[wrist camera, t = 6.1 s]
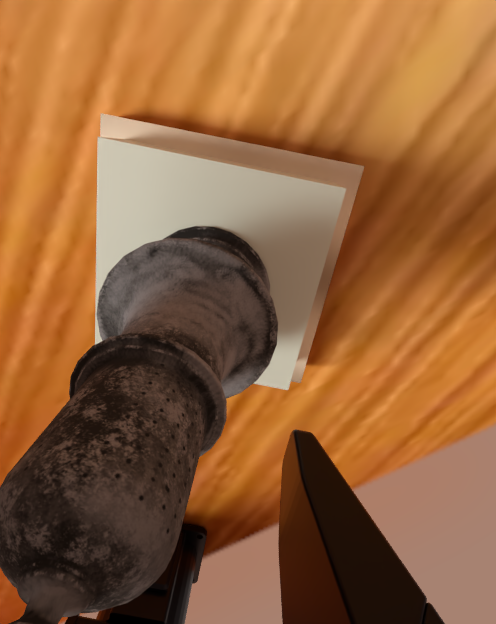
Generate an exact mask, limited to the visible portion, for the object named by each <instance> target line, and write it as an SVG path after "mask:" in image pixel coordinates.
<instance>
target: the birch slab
mask: <svg viewBox="0 0 496 624" xmlns="http://www.w3.org/2000/svg"><path fill="white" fill-rule="evenodd" d="M100 137H106V138H117V139H126V140H131V141H136V142H140V143H145V144H150V145H155V146H160V147H165V148H169V149H174V150H179V151H184V152H189V153H193V154H198V155H203V156H208V157H213V158H217V159H222V160H227V161H232V162H237V163H242V164H246V165H251V166H256V167H261V168H266V169H270V170H275V171H280V172H285V173H290V174H294V175H299V176H304V177H309V178H314V179H319V180H323V181H328V182H333V183H336V184H338V185H340V186H343V187H345V188H346V192H345V195H344V199H343V202H342V206H341V209H340V212H339V216H338V219H337V223H336V226H335V230H334V233H333V237H332V240H331V244H330V247H329V250H328V254H327V257H326V261H325V264H324V268H323V271H322V275H321V278H320V282H319V285H318V288H317V292H316V295H315V299H314V302H313V306H312V309H311V313H310V316H309V320H308V323H307V326H306V330H305V333H304V337H303V340H302V344H301V347H300V351H299V354H298V358H297V361H296V364H295V368H294V371H293V375H292V378H291V381H292V382H298V383H301V380H302V376H303V373H304V370H305V366H306V363H307V360H308V356H309V353H310V349H311V346H312V343H313V339H314V336H315V332H316V329H317V326H318V322H319V319H320V315H321V312H322V309H323V305H324V302H325V299H326V295H327V292H328V288H329V285H330V282H331V278H332V275H333V271H334V268H335V265H336V261H337V258H338V255H339V251H340V248H341V244H342V241H343V238H344V234H345V231H346V227H347V224H348V221H349V217H350V214H351V211H352V207H353V204H354V200H355V197H356V194H357V190H358V187H359V183H360V180H361V177H362V173H363V170H364V166H361V165H356V164H351V163H346V162H341V161H336V160H331V159H326V158H321V157H316V156H311V155H306V154H301V153H296V152H291V151H286V150H281V149H276V148H271V147H266V146H261V145H256V144H251V143H246V142H241V141H236V140H231V139H226V138H221V137H216V136H211V135H206V134H201V133H196V132H191V131H186V130H181V129H176V128H172V127H167V126H162V125H157V124H152V123H147V122H142V121H137V120H132V119H127V118H122V117H117V116H112V115H107V114H102V113H101V125H100Z"/></svg>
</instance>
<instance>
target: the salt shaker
mask: <svg viewBox="0 0 496 624" xmlns="http://www.w3.org/2000/svg"><path fill="white" fill-rule="evenodd" d="M97 320H98V326H99V333H100V336H101V339H102V341H101V342H100V343H98V344H96V345H94V346H92V347H91V348H90V349H89V350H88V351H87V352H86V353H85V354H84V355H83V356H82V357H81V359H80V360H79V361H78V362H77V364H76V367H75V369H74V371H73V373H72V375H71V380H70V390H69V395H70V400H69V401H68V402H67V404H66V405H65V406H64V407H63V408H62V410H61V411H60V412H59V413H58V414H57V416H56V417H55V418H54V419H53V421H52V422H51V423H50V424H49V425H48V427H47V428H46V429H45V430H44V431H43V433H42V434H41V435H40V436H39V437H38V439H37V440H36V441H35V442H34V443H33V445H32V446H31V447H30V448H29V449H28V451H27V452H26V453H25V454H24V455H23V457H22V458H21V459H20V460H19V461H18V463H17V464H16V465H15V466H14V467H13V469H12V470H11V471H10V472H9V473H8V475H7V476H6V478H5V480H4V482H3V484H2V485H1V487H0V567H1V569H2V571H3V573H4V575H5V576H6V577H7V578H8V580H9V581H10V582H11V583H12V585H13V586H14V587H16V588H17V591H18V594H19V596H20V598H21V599H22V600H23V601H24V602H25V603H26V604H27V606H26V609H25V612H24V615H23V616H22V617H21V618H20V619H18V620H16V621H14V622H11V623H9V624H58V622H59V621H60V619H61V618H62V617H71V616H75V615H78V614H80V613H91V612H98V611H102V610H105V609H109V608H112V607H115V606H118V605H122V604H125V603H127V602H129V601H131V600H133V599H134V598H136V597H138V596H140V595H141V594H142V593H143V592H144V591H145V590H146V589H148V588H149V587H150V586H151V585H152V584H153V583H154V582H156V580H157V579H158V578H159V577H160V576H161V575H162V573H163V572H164V571H165V570H166V568H167V565H168V563H169V561H170V559H171V557H172V555H173V553H174V551H175V548H176V545H177V542H178V539H179V535H180V531H181V527H182V523H183V519H184V515H185V511H186V507H187V503H188V499H189V495H190V491H191V487H192V483H193V479H194V475H195V471H196V467H197V463H198V459H199V457H200V456H202V455H203V454H204V453H206V452H207V451H208V450H210V449H211V448H212V447H213V445H214V444H215V443H216V441H217V440H218V439H219V437H220V436H221V433H222V430H223V428H224V425H225V422H226V398H229V397H231V396H234V395H236V394H238V393H241V392H242V391H244V390H245V389H246V388H248V387H249V386H250V385H252V384H253V383H254V382H256V381H257V380H258V379H259V377H260V376H261V375H262V373H263V372H264V371H265V369H266V368H267V367H268V365H269V364H270V361H271V359H272V356H273V353H274V351H275V348H276V346H277V333H278V320H277V315H276V311H275V306H274V302H273V299H272V297H271V295H270V283H269V278H268V274H267V270H266V268H265V266H264V264H263V262H262V260H261V259H260V257H259V255H258V254H257V253H256V252H255V251H254V249H253V248H252V247H251V246H250V245H249V244H248V243H247V242H246V241H244V240H243V239H241V238H239V237H238V236H236V235H235V234H233V233H231V232H229V231H226V230H222V229H219V228H216V227H207V226H194V227H189V228H185V229H181V230H178V231H176V232H174V233H173V234H171V235H169V236H167V237H166V238H164V239H163V240H159V241H154V242H150V243H146V244H144V245H142V246H140V247H139V248H137V249H135V250H133V251H132V252H130V253H128V254H126V255H125V256H123V257H122V259H121V260H120V261H119V262H118V263H117V264H116V265H115V266H114V267H113V268H112V269H111V270H110V272H109V273H108V275H107V277H106V279H105V281H104V283H103V285H102V288H101V290H100V292H99V298H98V306H97Z"/></svg>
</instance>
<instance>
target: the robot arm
mask: <svg viewBox="0 0 496 624" xmlns="http://www.w3.org/2000/svg"><path fill="white" fill-rule="evenodd" d="M206 536H207V530H206V529H204V528H202V527H197V526H191V525H186V524H182V527H181V531H180V535H179V539H178V542H177V545H176V548H175V551H174V553H173V555H172V557H171V559H170V561H169V563H168V565H167V568H166V570H165V571H164V572H163V573H162V575H161V576H160V577H159V578H158V579H157V580H156V582H154V583H153V584H152V585H151V586H150V587H149V588H148V589H146V590H145V591H144V592H143V593H142V594H141V595H140V596H138V597H136V598H134V599H133V600H131V601H129V602H127V603H125V604H122V605H118V606H115V607H112V608H109V609H105V610H102V611H99V613H98V616H97V618H96V619H92V618H87V617H82V616H79V614H78V615H75V616H71V617H68V619H67V620H66V622H65V624H184V623H185V618H186V613H187V608H188V602H189V597H190V591H191V586H192V583H196V582H197V580H198V575H199V571H200V566H201V561H202V556H203V551H204V546H205V542H206ZM279 564H280V565H279V566H280V584H281V602H282V618H283V624H445V623H444V622H443V620H442V619H441V617H440V616H439V615H438V613H437V612H436V610H435V609H434V607H433V606H432V605H431V604H430V603H426V602H427V598H426V596H425V595H424V593H423V592H422V590H421V589H420V587H419V586H418V585H417V583H416V582H415V580H414V579H413V577H412V576H411V574H410V573H409V572H408V570H407V569H406V567H405V566H404V564H403V563H402V561H401V560H400V559H399V557H398V556H397V554H396V553H395V551H394V550H393V549H392V547H391V546H390V544H389V543H388V541H387V540H386V538H385V537H384V535H383V534H382V533H381V531H380V530H379V528H378V527H377V526H376V524H375V523H374V521H373V520H372V518H371V517H370V515H369V514H368V512H367V511H366V509H365V508H364V507H363V505H362V504H361V502H360V501H359V500H358V498H357V496H356V495H355V494H354V492H353V491H352V489H351V488H350V486H349V485H348V484H347V482H346V481H345V479H344V478H343V476H342V475H341V473H340V472H339V471H338V469H337V468H336V466H335V465H334V463H333V462H332V460H331V459H330V458H329V456H328V455H327V453H326V452H325V450H324V449H323V447H322V446H321V445H320V443H319V442H318V440H317V439H316V437H315V436H314V435H313V434H312V433H310V432H306V431H301V430H293V431H292V433H291V435H290V439H289V442H288V445H287V449H286V452H285V455H284V459H283V465H282V481H281V500H280V519H279Z"/></svg>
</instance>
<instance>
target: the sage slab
mask: <svg viewBox="0 0 496 624" xmlns="http://www.w3.org/2000/svg"><path fill="white" fill-rule="evenodd" d="M345 192H346V188H345V187H343V186H340V185H338V184H336V183H333V182H328V181H323V180H319V179H314V178H309V177H304V176H299V175H294V174H290V173H285V172H280V171H275V170H270V169H266V168H261V167H256V166H251V165H246V164H242V163H237V162H232V161H227V160H222V159H217V158H213V157H208V156H203V155H198V154H193V153H189V152H184V151H179V150H174V149H169V148H165V147H160V146H155V145H150V144H145V143H140V142H136V141H131V140H126V139H117V138H106V137H98V155H97V234H96V313H95V345H96V344H98V343H100V342H101V341H102V339H101V336H100V333H99V326H98V320H97V306H98V298H99V292H100V290H101V288H102V285H103V283H104V281H105V279H106V277H107V275H108V273H109V272H110V270H111V269H112V268H113V267H114V266H115V265H116V264H117V263H118V262H119V261H120V260H121V259H122V257H123V256H125V255H126V254H128V253H130V252H132V251H133V250H135V249H137V248H139V247H140V246H142V245H144V244H146V243H150V242H154V241H159V240H163V239H164V238H166V237H167V236H169V235H171V234H173V233H174V232H176V231H178V230H181V229H185V228H189V227H194V226H207V227H216V228H219V229H222V230H226V231H229V232H231V233H233V234H235V235H236V236H238V237H239V238H241V239H243V240H244V241H246V242H247V243H248V244H249V245H250V246H251V247H252V248H253V249H254V251H255V252H256V253H257V254H258V255H259V257H260V259H261V260H262V262H263V264H264V266H265V268H266V270H267V274H268V278H269V283H270V295H271V297H272V299H273V302H274V306H275V311H276V315H277V320H278V333H277V346H276V348H275V351H274V353H273V356H272V359H271V361H270V364H269V365H268V367H267V368H266V369H265V371H264V372H263V373H262V375H261V376H260V377H259V379H258V380H257V381H256V382H254V384H259V385H264V386H269V387H274V388H279V389H284V390H288V389H289V385H290V382H291V378H292V375H293V371H294V368H295V364H296V361H297V358H298V354H299V351H300V347H301V344H302V340H303V337H304V333H305V330H306V326H307V323H308V320H309V316H310V313H311V309H312V306H313V302H314V299H315V295H316V292H317V288H318V285H319V282H320V278H321V275H322V271H323V268H324V264H325V261H326V257H327V254H328V250H329V247H330V244H331V240H332V237H333V233H334V230H335V226H336V223H337V219H338V216H339V212H340V209H341V206H342V202H343V199H344V195H345Z"/></svg>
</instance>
